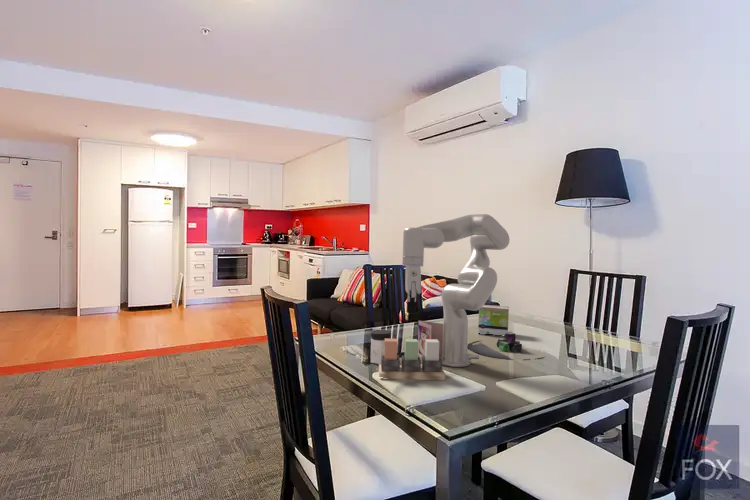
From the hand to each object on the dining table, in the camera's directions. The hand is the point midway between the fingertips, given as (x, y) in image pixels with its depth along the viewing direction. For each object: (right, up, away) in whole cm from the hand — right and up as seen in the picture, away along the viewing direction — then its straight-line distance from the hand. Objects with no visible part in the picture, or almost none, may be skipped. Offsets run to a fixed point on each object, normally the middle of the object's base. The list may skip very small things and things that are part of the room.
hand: (411, 312), depth 154 cm
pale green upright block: (0, -17, +1) cm, 17 cm away
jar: (-11, -22, +17) cm, 30 cm away
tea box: (+49, -22, +72) cm, 90 cm away
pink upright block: (-7, -17, +1) cm, 19 cm away
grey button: (+8, -17, +1) cm, 19 cm away
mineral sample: (+47, -23, +40) cm, 66 cm away
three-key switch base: (0, -23, +1) cm, 23 cm away
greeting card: (+10, -23, +23) cm, 34 cm away
